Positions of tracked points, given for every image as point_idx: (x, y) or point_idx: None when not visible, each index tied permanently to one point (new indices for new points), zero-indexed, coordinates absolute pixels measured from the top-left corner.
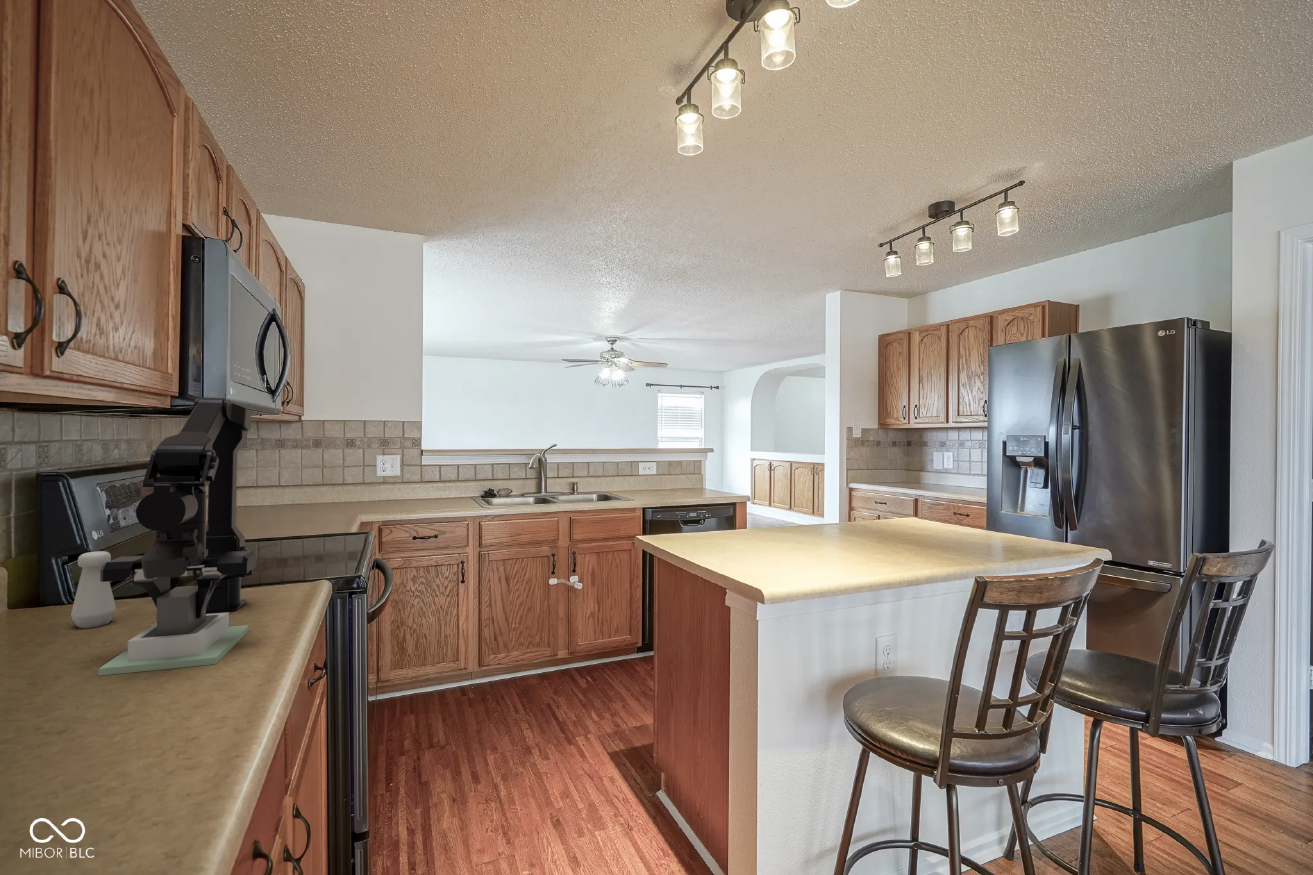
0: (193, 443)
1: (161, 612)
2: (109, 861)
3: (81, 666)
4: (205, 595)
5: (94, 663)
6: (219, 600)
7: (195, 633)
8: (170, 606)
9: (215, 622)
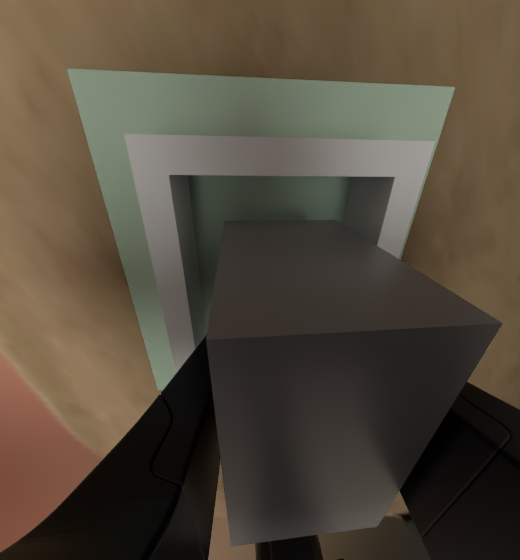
0: None
1: (376, 262)
2: None
3: (473, 212)
4: (143, 418)
5: (447, 228)
6: None
7: None
8: (341, 278)
9: (169, 321)
